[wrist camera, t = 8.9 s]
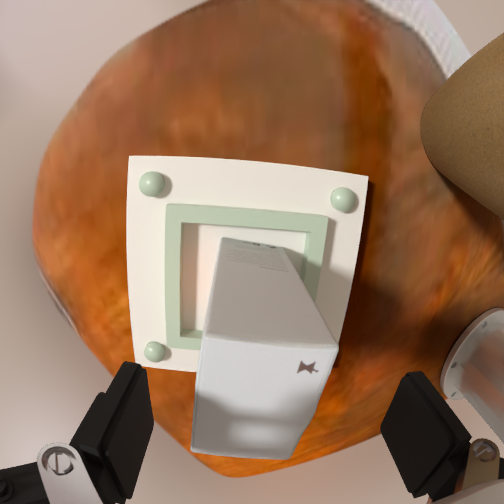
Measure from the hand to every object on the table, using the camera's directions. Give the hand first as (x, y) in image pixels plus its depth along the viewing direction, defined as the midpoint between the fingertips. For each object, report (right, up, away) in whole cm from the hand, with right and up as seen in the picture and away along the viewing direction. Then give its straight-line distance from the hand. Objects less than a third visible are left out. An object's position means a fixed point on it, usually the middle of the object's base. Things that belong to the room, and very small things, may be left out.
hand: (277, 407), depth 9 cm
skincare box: (-1, +3, +11) cm, 12 cm away
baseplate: (-2, +4, +12) cm, 13 cm away
